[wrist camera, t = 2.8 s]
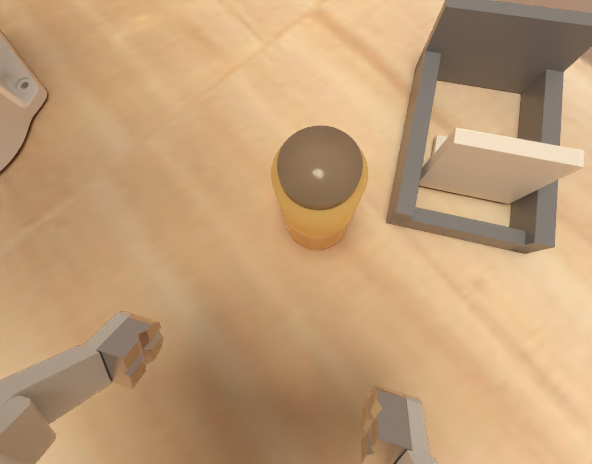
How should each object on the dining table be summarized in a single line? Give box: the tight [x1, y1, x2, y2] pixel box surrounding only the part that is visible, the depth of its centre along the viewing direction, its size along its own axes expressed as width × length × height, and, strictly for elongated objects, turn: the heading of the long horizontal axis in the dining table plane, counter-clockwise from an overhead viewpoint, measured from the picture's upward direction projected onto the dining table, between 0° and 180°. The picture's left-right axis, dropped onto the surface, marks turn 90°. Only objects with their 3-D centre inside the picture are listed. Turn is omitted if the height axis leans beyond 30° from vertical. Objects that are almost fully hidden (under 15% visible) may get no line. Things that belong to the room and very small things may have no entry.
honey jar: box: [271, 126, 368, 250], centre depth 20 cm, size 6×6×11 cm
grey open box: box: [386, 0, 592, 253], centre depth 23 cm, size 17×12×7 cm
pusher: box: [419, 127, 584, 204], centre depth 22 cm, size 5×8×7 cm, turn 76°
